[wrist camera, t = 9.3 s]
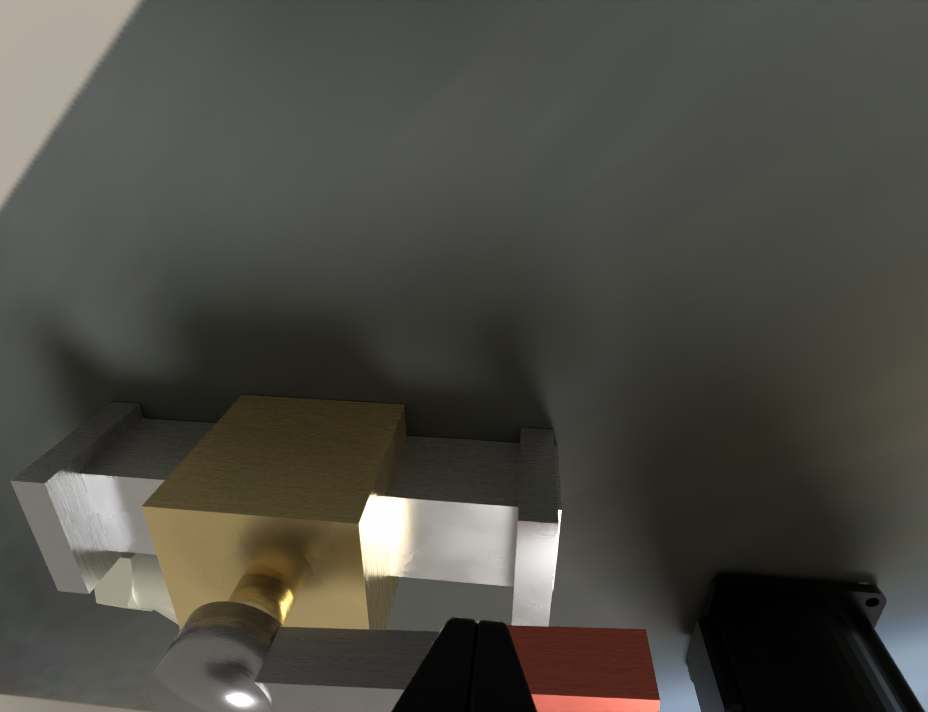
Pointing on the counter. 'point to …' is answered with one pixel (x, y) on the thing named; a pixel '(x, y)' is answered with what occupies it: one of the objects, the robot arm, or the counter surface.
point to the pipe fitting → (136, 585)
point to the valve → (297, 509)
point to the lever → (380, 666)
